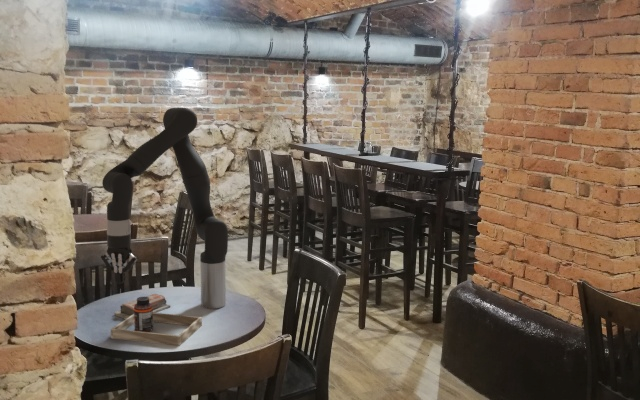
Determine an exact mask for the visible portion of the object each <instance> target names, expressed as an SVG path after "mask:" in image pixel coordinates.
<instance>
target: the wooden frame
mask: <svg viewBox="0 0 640 400" xmlns="http://www.w3.org/2000/svg"><path fill="white" fill-rule="evenodd" d="M202 322H203V317H202V316H195V315H194V316H191V315H183V314H182V315H181V314H172V313H161V312H160V313H159V312H157V313H153V323H164V324H172V325H174V324H175V325H183V326H187V328H185V329H184V330H183V331H182V332H180V333H179V335H178V334H177V335H176V334H168V333H158V332H140V331H135V330H131V329H130V330H128V329H129V328H130V327H132V326H133V325H135V318H134V314H133V315H131V316H130V317H128V318H127V319H124V320H123V321H121V322H119V323H118V324H116V325H115V326H114V327H112V328H111V329H110V338H111V339H114V340H121V341H122V340H124V341H134V342H141V343H143V342H144V343H151V342H152V344H159V345H160V344H163V345H170V346H171V345H172V346H181V345H182V344H183V343H185V342H186V341H187V340H188V339H189V338H190V337H191V336H192V335H193V334H194V333H196V332H197V331H198V329H200V328H201V327H202V326H203V323H202Z"/></svg>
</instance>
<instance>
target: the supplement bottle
mask: <svg viewBox="0 0 640 400" xmlns="http://www.w3.org/2000/svg"><path fill="white" fill-rule="evenodd" d="M136 300H137V304H136V305H135V306H134V318H135V323H134V331H140V332H149V333H151V332H152V331H153V329H154V322H153V309H152V304H151V303H149V297H146V296H139V297H137V298H136Z"/></svg>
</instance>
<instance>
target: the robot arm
mask: <svg viewBox="0 0 640 400" xmlns="http://www.w3.org/2000/svg"><path fill="white" fill-rule="evenodd" d="M162 123H163V127H164V129H163V130H162V131H160V133H158V134H157V135H155V136H154V137H152V138H150V139H149V140H147V141H145V142H144V143H143V144H141V145H139V147H137V148H136V149H135V150H134V151H133V152H132V153H131V154H130V155H129V156H128V157H127V158H126V159H125V160H124V161H121V162H120V163H119V164H117V165H115V166H114V167H113V168H112V169H110V170H108V172H107V173H106V174H105V175H104V176H103V179H102V187H103V189H104V190H105V191H106V192H108V193H112V197H111V201H109V202H108V203H107V206H106V215H107V216H106V217H107V219H106V243H107V244H106V246H107V250H106V253H104V254H103V255H100V258H101V260H102V261H103V262H104V264H105V266H106V267H107V268H108V270H109V271H113V272H114V278H115V279H114V281H115V282H116V284H119V285H121V284H123V283H124V282H125V281H126V273H127V272H129V271H130V270H132V268H133V267H134V265H136V263H137V261H139V257H138V256H135V255H134V254H133V250H132V249H131V246H132V236H131V235H132V233H131V232H132V231H131V228H132V226H131V220H130V218H131V217H130V204H131V201H132V195H133V190H134V187H133V180H132V179H133V178H134V177H140V176H141V175H142V174H143V175H144V173H145V172H146V171H147V170H148V169H149V168H150V167H151V166H152V165H153V164H154V163H155V162H157V160H158V159H159V158H161V156H162V155H164V153H166V152H167V151H168V150H169V149H171V147H172V150H173V152H174V155H175V159H176V162H177V165H178V168H179V172H180V175H181V179H182V181H183V186H184V189H185V193H186V195H187V198H188V201H189V204H190V206H191V210H192V214H193V219H194V225H195V231H196V233H197V234H196V235H198V237H199V238H200V239H201V240H202V241H204V251H202V252H201V253H200V254H199V255H200V257H199V258H200V261H199V262H200V263H199V264H200V269H199V270H200V305H201V308H204V309H210V310H211V309H212V310H213V309H220V308H223V307H225V306H226V305H227V298H226V297H227V296H226V294H227V293H226V292H227V288H226V282H227V281H226V276H227V275H226V271H227V270H226V256H227V253H228V247H229V246H228V245H229V230H228V225H227V224H226V223H225V222H224V221H223V220H221V219H218V218H216V216H215V214H214V212H213V208H212V205H211V201H210V198H211V196H210V195H211V180H210V176H209V173H208V170H207V166H206V164H205V163H204V161H203V159H202V157H201V156H200V154H199V153H198V152H197V151H196V149H195V147H194V146H193V144H192V141H191V139H190V135H189V134H191V133H192V132H193V131H194V130H196V128H197V124H198V116H197V114H196V113H195V111H194V110H192V109H191V108H188V107H171V108H168V109H166V110H165V112H164V114H163V117H162ZM128 261H129V262H128Z"/></svg>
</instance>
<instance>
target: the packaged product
mask: <svg viewBox="0 0 640 400" xmlns="http://www.w3.org/2000/svg"><path fill="white" fill-rule="evenodd" d="M145 297H149V303H151V304H152V309H153V313H159V312H161V311H163V310H166V309H167V310H168V309H170V308H171V305H170V304H167V300H166V297H165V296H164V295H161V294H157V293H153V294H149V295H146V296H145ZM136 304H137V299H134V300H131V301H128V302H125V303H122V304H121V305H120V309H119V310H117V311H114V312H113V313H114V316H116V317H117V318H121V319H124V320H125V319H127V318H128V317H130V316H131V315H133V314H134V306H135V305H136Z"/></svg>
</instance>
